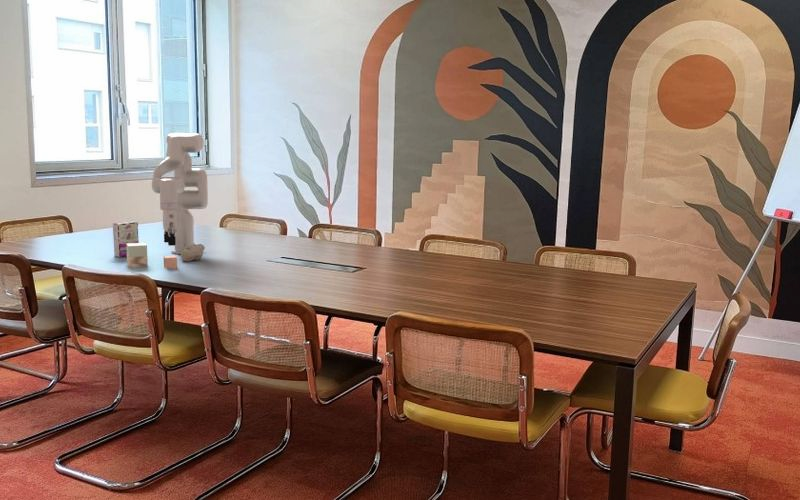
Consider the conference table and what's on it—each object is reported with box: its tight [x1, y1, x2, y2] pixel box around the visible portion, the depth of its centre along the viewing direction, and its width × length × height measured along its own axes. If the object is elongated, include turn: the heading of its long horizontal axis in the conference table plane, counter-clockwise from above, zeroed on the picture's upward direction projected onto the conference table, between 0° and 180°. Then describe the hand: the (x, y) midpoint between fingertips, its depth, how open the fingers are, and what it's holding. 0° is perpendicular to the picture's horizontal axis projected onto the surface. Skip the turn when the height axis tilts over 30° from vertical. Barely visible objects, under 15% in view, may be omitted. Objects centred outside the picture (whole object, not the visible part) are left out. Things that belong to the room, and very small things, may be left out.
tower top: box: [126, 242, 148, 257], centre depth 359 cm, size 8×8×5 cm
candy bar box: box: [112, 220, 140, 258], centre depth 383 cm, size 11×5×16 cm, turn 143°
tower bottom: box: [126, 255, 149, 268], centre depth 360 cm, size 8×8×5 cm
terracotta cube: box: [163, 255, 178, 269], centre depth 357 cm, size 5×5×5 cm
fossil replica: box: [180, 243, 206, 262], centre depth 376 cm, size 12×8×10 cm
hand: (169, 243), depth 356 cm, fingers open, 9 cm apart
